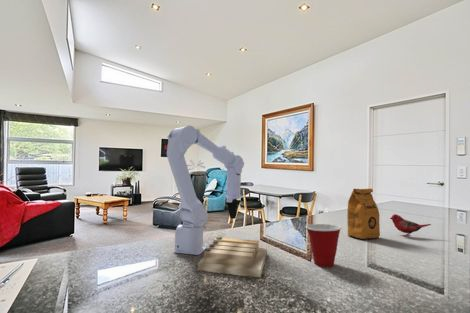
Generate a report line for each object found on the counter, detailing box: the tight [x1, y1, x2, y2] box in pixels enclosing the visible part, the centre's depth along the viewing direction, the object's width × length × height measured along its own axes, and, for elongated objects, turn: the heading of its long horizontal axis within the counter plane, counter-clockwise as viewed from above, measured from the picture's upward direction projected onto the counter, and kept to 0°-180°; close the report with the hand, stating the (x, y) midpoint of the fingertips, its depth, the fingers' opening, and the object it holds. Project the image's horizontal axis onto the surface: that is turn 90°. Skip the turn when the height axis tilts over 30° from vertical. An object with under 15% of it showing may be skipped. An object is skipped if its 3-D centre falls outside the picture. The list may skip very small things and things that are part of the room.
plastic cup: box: [305, 223, 342, 268], centre depth 78 cm, size 11×11×12 cm
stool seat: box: [197, 240, 268, 278], centre depth 78 cm, size 18×19×5 cm
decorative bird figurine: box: [389, 213, 432, 237], centre depth 114 cm, size 3×18×10 cm, turn 82°
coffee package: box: [346, 188, 381, 240], centre depth 112 cm, size 10×12×22 cm
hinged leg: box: [213, 236, 260, 253], centre depth 84 cm, size 15×3×3 cm, turn 78°
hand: (232, 218), depth 101 cm, fingers closed
